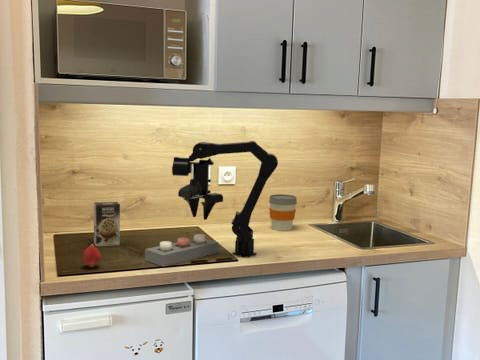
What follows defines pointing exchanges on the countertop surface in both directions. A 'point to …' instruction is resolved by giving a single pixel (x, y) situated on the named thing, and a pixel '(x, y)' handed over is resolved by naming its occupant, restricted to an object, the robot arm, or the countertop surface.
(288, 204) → the reusable coffee cup
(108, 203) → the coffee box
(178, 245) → the button red middle
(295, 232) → the countertop surface
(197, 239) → the button pale right
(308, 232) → the countertop surface
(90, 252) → the onion
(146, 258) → the button panel
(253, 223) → the countertop surface
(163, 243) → the button pale left
